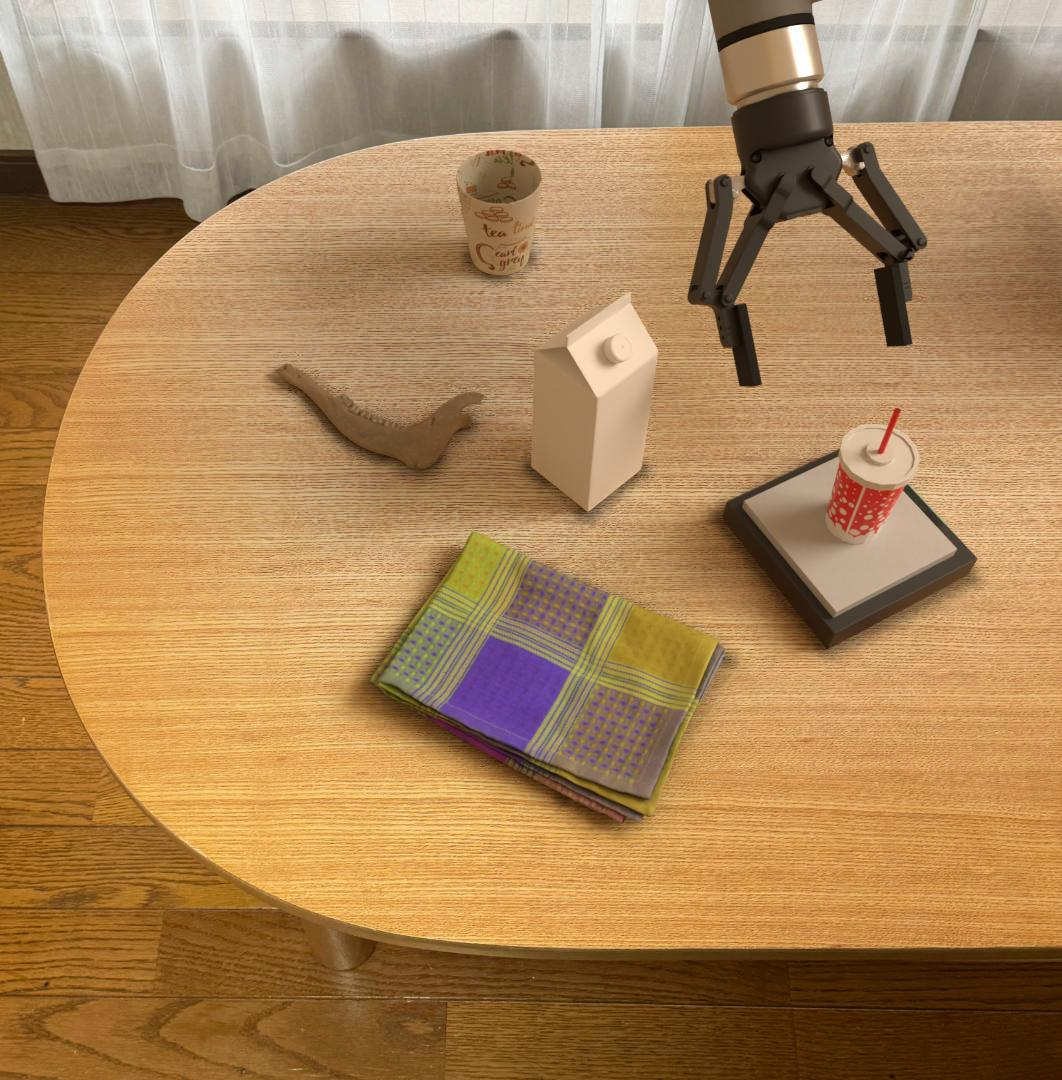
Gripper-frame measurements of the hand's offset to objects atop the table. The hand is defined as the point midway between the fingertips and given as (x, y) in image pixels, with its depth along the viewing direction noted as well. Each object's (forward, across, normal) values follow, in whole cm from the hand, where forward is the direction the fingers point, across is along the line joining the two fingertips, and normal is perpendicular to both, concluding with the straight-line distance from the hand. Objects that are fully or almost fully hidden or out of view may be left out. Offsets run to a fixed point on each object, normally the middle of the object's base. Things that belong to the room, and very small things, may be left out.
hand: (826, 365), depth 95 cm
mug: (-17, +15, -35) cm, 42 cm away
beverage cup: (+13, 0, 0) cm, 13 cm away
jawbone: (-5, +33, -23) cm, 41 cm away
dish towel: (+18, +28, 0) cm, 34 cm away
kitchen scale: (+16, 0, -2) cm, 16 cm away
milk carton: (+5, +18, -13) cm, 23 cm away
